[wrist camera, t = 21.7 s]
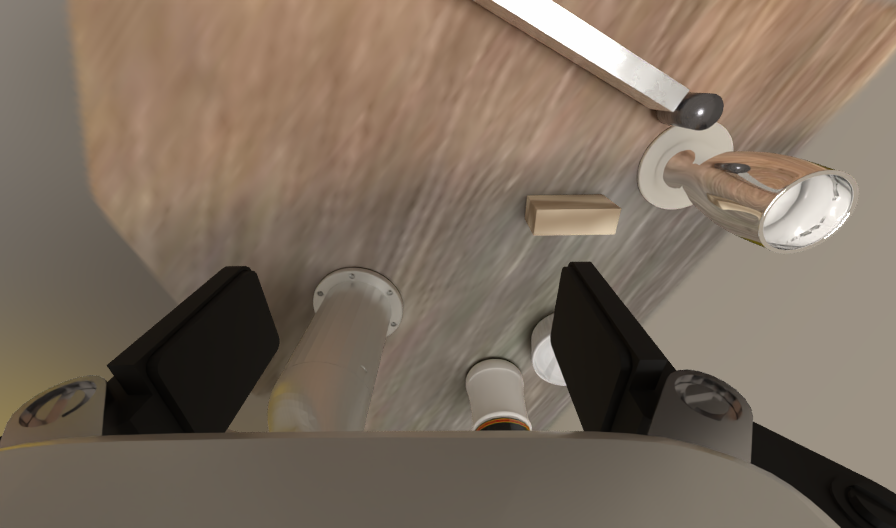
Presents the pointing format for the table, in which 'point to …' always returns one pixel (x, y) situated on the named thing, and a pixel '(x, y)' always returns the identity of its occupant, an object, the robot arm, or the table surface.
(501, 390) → the vodka
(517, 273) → the table surface
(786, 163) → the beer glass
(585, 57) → the bar
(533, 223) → the block
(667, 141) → the white disc
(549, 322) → the ramekin
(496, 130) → the table surface
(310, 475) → the robot arm
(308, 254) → the table surface
